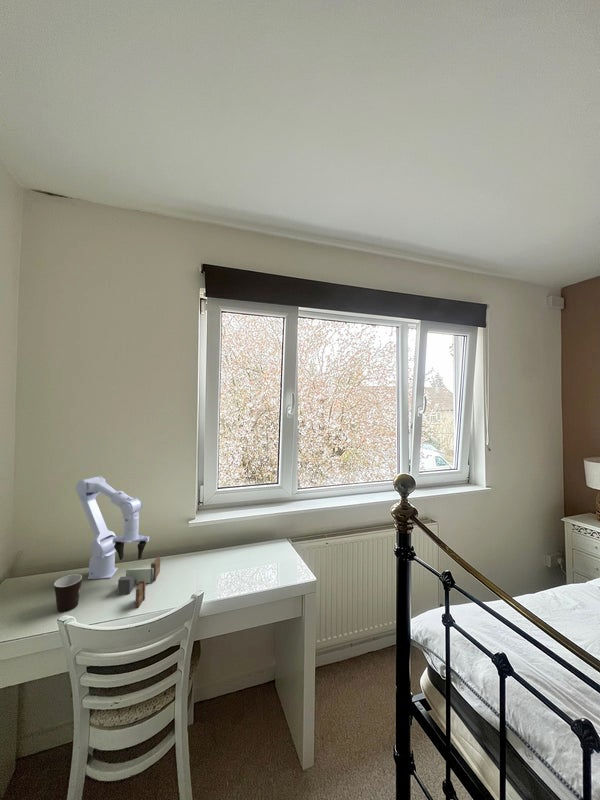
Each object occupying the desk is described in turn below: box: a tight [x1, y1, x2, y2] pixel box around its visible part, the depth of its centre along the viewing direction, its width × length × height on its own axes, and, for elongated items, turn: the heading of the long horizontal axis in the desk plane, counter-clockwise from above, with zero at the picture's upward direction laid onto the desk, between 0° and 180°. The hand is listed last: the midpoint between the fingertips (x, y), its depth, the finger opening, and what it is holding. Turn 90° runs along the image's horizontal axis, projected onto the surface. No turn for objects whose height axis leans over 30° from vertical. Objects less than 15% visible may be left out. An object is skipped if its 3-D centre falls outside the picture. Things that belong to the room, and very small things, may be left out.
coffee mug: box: [53, 573, 83, 613], centre depth 122 cm, size 12×9×10 cm
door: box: [125, 567, 154, 585], centre depth 137 cm, size 11×1×6 cm, turn 97°
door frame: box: [135, 555, 161, 609], centre depth 134 cm, size 2×26×8 cm, turn 7°
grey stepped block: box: [117, 575, 137, 595], centre depth 132 cm, size 7×4×6 cm, turn 7°
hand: (130, 558), depth 139 cm, fingers open, 7 cm apart
